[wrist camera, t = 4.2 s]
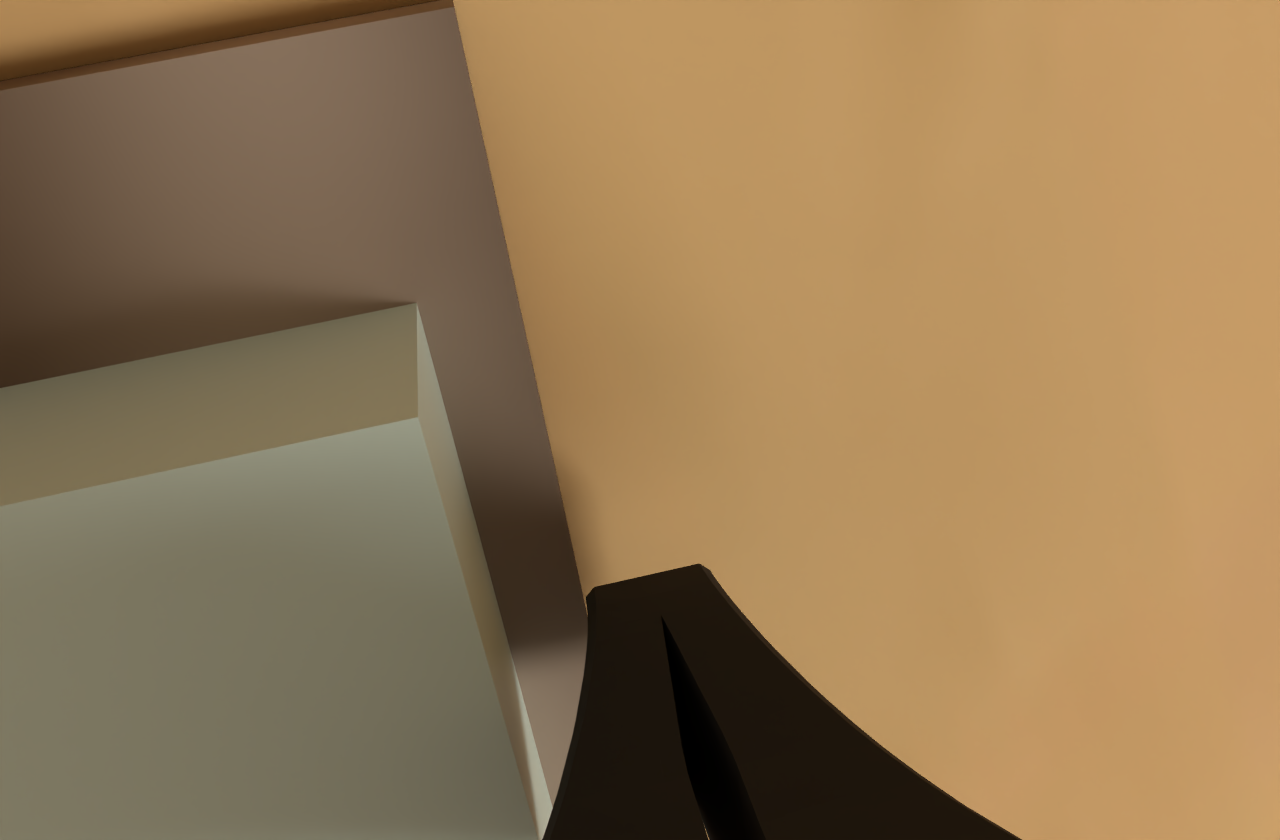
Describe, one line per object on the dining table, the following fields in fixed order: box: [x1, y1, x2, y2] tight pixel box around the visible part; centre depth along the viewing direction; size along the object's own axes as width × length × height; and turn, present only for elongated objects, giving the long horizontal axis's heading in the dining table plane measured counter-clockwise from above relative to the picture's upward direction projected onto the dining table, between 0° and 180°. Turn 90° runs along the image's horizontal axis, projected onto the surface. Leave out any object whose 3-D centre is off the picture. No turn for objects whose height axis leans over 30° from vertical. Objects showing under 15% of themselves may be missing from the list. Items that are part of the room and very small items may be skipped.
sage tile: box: [0, 303, 553, 840], centre depth 12 cm, size 11×9×2 cm
